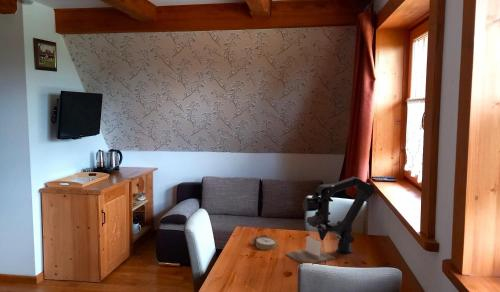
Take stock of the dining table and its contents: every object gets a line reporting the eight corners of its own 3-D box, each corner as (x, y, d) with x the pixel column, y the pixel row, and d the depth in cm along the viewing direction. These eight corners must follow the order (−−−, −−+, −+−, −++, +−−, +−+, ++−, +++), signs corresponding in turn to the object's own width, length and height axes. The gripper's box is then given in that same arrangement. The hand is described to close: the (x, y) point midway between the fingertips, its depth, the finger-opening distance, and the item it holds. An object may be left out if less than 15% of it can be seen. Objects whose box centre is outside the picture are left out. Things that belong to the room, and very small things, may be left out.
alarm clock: (266, 246, 201) (248, 234, 212) (264, 255, 202) (246, 242, 213) (281, 242, 208) (263, 230, 219) (280, 250, 209) (262, 238, 220)
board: (313, 249, 206) (313, 247, 206) (334, 259, 193) (334, 257, 193) (285, 254, 197) (285, 253, 197) (305, 266, 183) (306, 263, 183)
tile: (308, 236, 200) (307, 236, 199) (321, 242, 191) (320, 242, 191) (307, 249, 200) (305, 249, 200) (320, 255, 192) (318, 256, 191)
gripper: (299, 207, 201) (298, 237, 202) (323, 216, 185) (322, 248, 186) (315, 205, 206) (314, 234, 208) (340, 213, 190) (339, 244, 192)
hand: (321, 240), depth 198 cm, fingers closed
